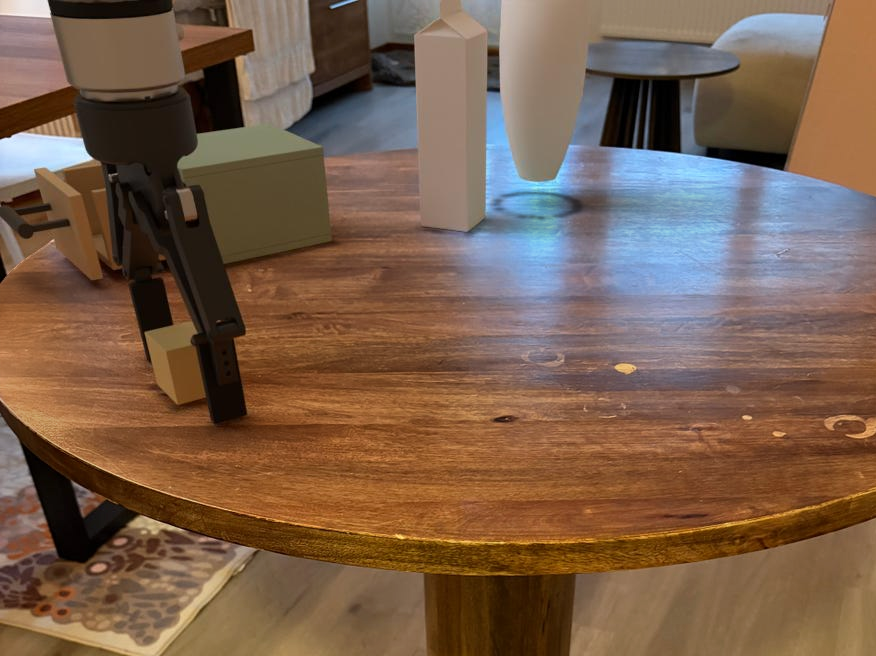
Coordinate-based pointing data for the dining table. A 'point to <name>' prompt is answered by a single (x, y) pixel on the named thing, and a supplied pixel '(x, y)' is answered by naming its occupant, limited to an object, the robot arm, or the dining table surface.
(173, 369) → the block
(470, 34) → the milk
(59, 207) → the drawer
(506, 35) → the cream tapered vase
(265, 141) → the cabinet
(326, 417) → the dining table surface
